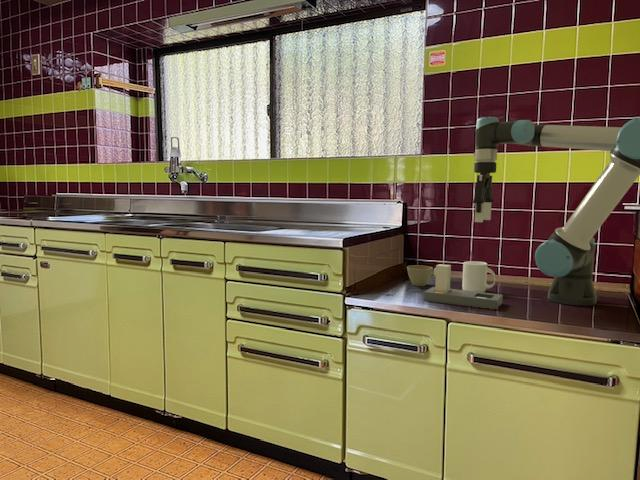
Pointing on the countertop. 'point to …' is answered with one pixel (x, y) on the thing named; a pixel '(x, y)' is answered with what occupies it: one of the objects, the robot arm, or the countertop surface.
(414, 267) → the flower pot
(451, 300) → the panel
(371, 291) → the countertop surface
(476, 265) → the mug
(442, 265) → the plug
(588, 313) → the countertop surface
